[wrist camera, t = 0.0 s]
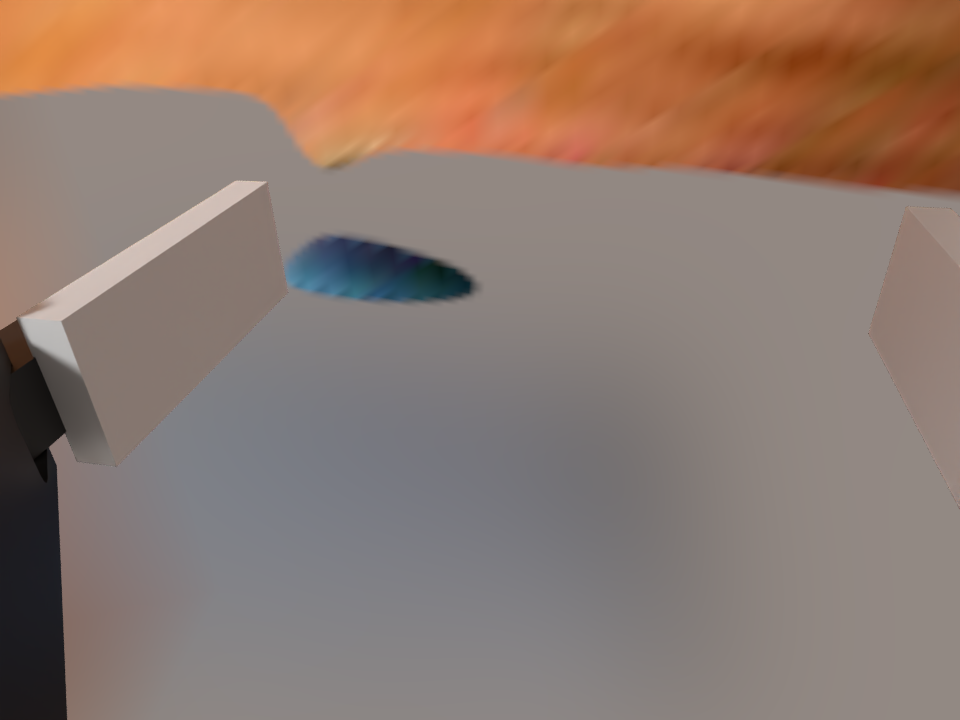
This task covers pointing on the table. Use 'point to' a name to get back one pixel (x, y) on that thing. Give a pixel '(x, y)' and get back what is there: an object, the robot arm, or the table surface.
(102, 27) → the table surface
